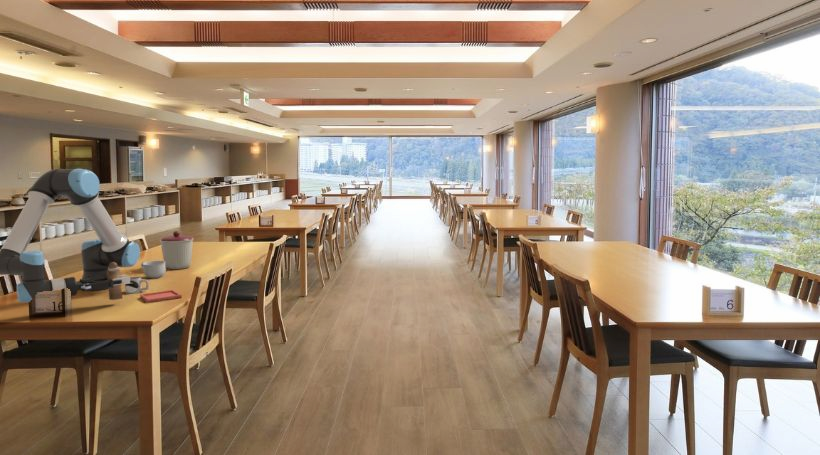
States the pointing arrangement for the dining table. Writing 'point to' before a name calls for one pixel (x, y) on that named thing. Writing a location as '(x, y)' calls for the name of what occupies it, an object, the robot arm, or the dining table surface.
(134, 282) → the mug
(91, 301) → the dining table surface
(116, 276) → the pepper mill
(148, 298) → the tray
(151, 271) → the teacup
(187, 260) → the canister
